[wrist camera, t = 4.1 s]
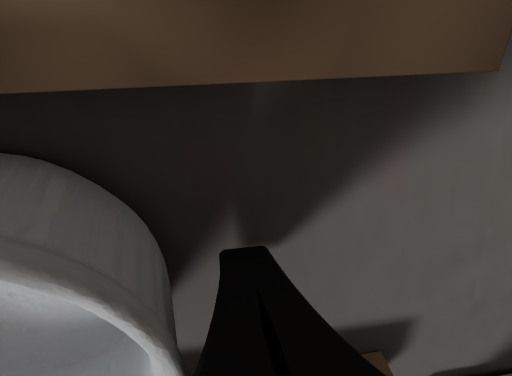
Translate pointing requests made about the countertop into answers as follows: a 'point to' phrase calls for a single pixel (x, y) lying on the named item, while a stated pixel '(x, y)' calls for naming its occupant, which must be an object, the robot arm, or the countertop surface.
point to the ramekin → (79, 280)
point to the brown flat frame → (243, 43)
